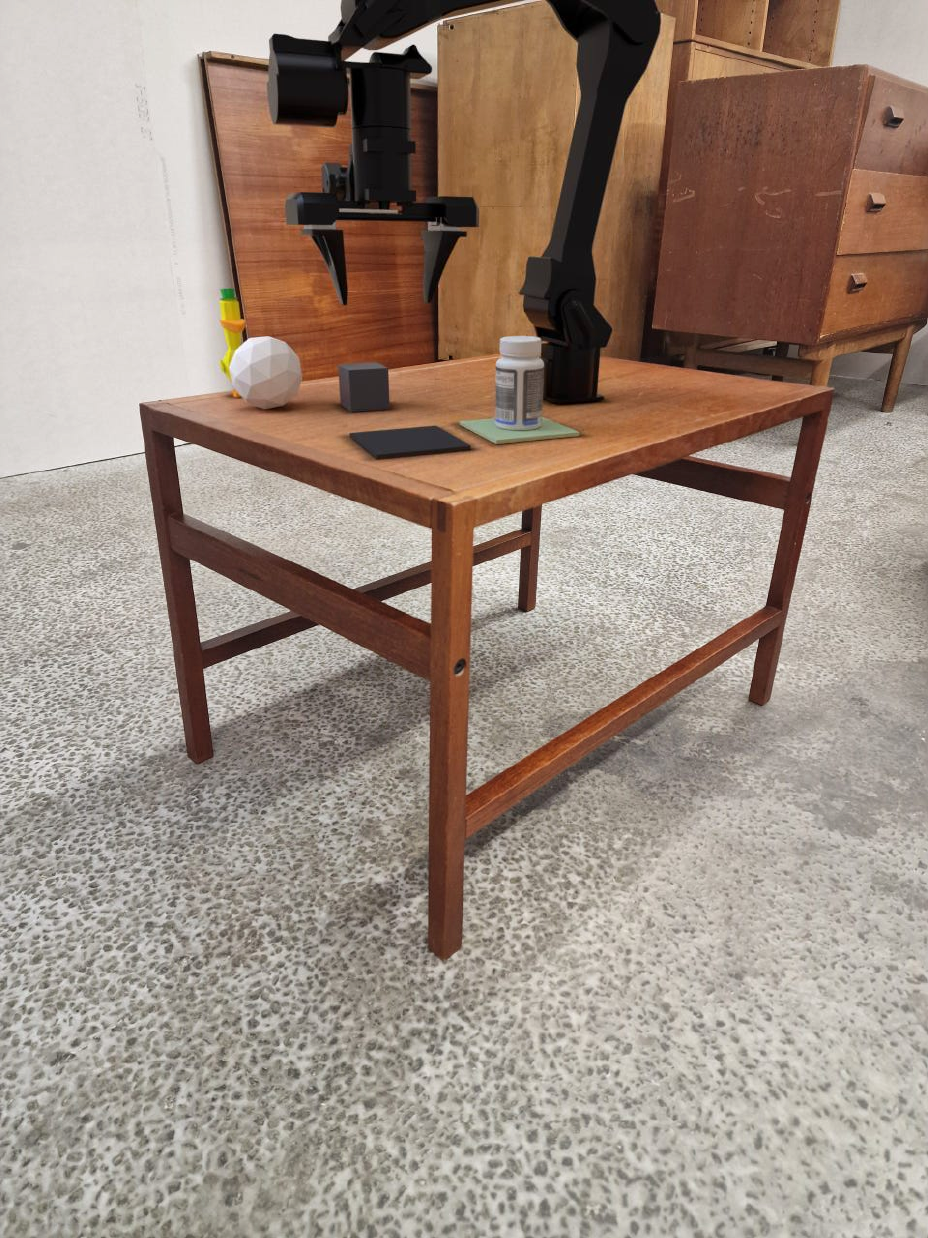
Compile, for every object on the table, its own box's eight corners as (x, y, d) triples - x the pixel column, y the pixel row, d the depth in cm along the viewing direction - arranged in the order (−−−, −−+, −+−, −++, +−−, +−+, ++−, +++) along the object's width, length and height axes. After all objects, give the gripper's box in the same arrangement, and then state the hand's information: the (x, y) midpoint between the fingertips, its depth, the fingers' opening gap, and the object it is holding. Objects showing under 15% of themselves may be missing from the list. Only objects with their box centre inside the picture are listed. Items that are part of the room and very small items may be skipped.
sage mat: (537, 417, 86) (537, 414, 86) (579, 436, 78) (579, 431, 78) (459, 424, 83) (459, 420, 83) (495, 444, 75) (496, 440, 75)
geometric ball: (255, 430, 92) (224, 368, 93) (318, 401, 93) (287, 340, 93) (242, 408, 85) (209, 341, 85) (311, 377, 86) (278, 311, 86)
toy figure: (262, 399, 95) (250, 289, 89) (231, 401, 93) (218, 290, 88) (249, 390, 100) (237, 286, 95) (220, 392, 99) (207, 287, 93)
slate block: (378, 402, 94) (376, 361, 92) (389, 409, 90) (388, 367, 88) (340, 404, 92) (337, 364, 90) (350, 412, 88) (348, 370, 86)
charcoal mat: (436, 429, 81) (435, 425, 81) (470, 449, 73) (470, 445, 73) (349, 436, 78) (349, 432, 78) (376, 459, 70) (376, 454, 70)
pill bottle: (538, 420, 83) (542, 335, 79) (544, 431, 78) (548, 341, 75) (492, 420, 83) (494, 335, 79) (496, 431, 78) (497, 341, 75)
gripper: (439, 142, 87) (440, 296, 94) (267, 133, 80) (281, 300, 87) (482, 132, 78) (479, 304, 85) (292, 120, 71) (305, 308, 78)
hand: (386, 304), depth 84 cm, fingers open, 9 cm apart
